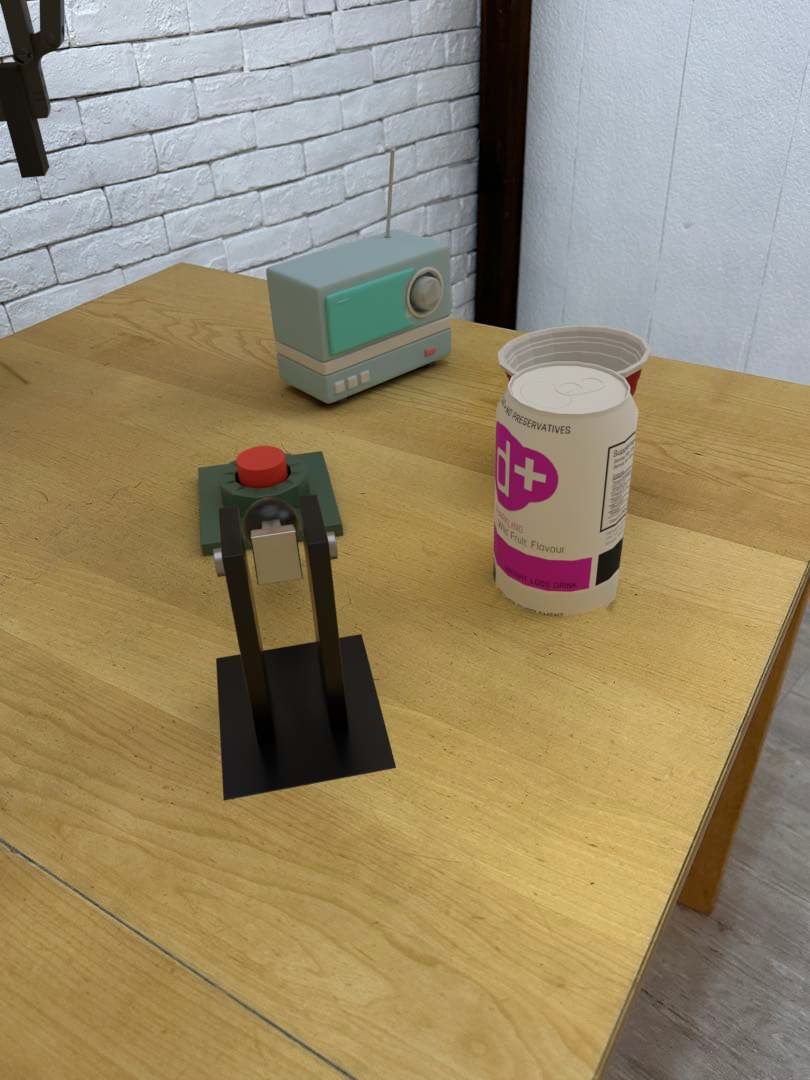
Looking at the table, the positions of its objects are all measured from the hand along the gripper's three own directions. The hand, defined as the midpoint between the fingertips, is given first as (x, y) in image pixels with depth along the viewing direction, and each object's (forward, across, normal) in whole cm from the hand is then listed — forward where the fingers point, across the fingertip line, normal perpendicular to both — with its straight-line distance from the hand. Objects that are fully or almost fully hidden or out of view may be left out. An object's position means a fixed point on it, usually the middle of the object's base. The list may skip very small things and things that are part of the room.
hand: (35, 172), depth 61 cm
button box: (+24, +12, -9) cm, 29 cm away
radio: (+25, +24, +14) cm, 37 cm away
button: (+21, +12, -9) cm, 26 cm away
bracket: (+24, +12, -31) cm, 41 cm away
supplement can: (+25, +30, -23) cm, 45 cm away
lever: (+17, +12, -26) cm, 33 cm away
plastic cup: (+25, +35, -11) cm, 44 cm away
